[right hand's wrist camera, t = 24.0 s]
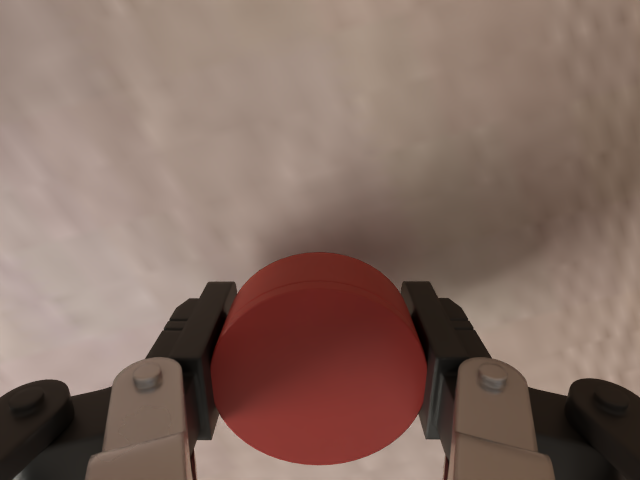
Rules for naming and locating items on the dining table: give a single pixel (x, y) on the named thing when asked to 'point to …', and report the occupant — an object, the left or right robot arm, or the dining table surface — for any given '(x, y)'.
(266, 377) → the lid
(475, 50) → the dining table surface
